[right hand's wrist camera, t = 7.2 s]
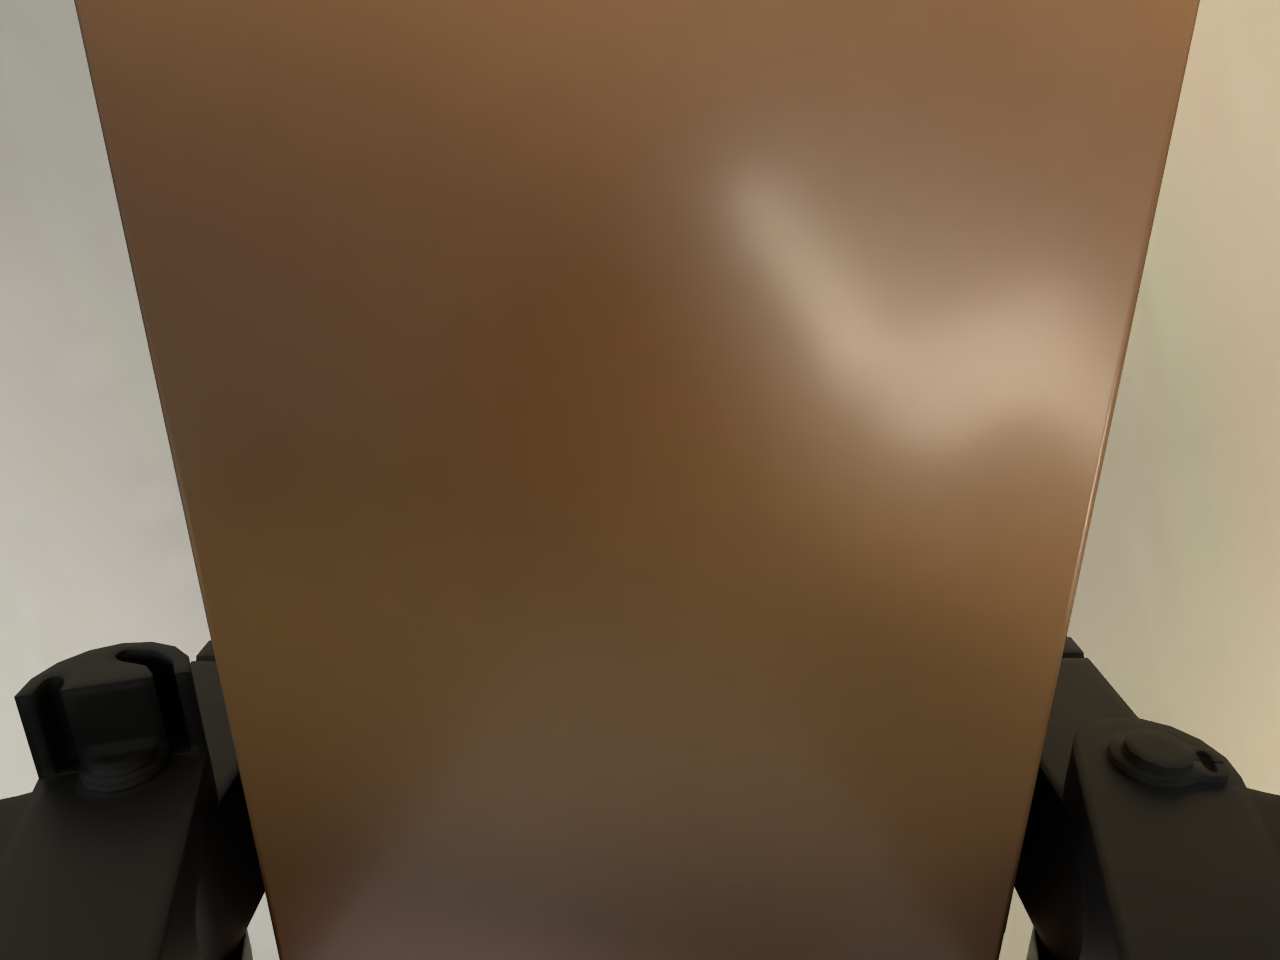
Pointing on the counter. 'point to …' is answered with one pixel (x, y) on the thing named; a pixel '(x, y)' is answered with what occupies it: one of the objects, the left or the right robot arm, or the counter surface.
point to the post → (638, 444)
